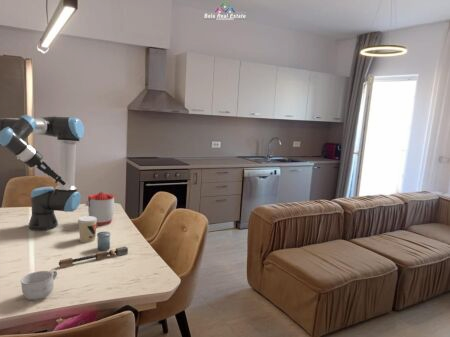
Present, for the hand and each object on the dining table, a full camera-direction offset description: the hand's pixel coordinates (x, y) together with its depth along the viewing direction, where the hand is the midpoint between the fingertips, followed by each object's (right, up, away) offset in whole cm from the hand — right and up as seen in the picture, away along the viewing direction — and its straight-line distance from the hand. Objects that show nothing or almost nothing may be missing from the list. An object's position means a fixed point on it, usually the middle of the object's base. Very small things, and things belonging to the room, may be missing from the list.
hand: (65, 185), depth 170 cm
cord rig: (+16, -35, -6) cm, 39 cm away
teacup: (+8, -40, -37) cm, 55 cm away
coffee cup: (+4, -31, +19) cm, 36 cm away
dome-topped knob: (+16, -33, +8) cm, 37 cm away
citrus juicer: (0, -26, +46) cm, 53 cm away
